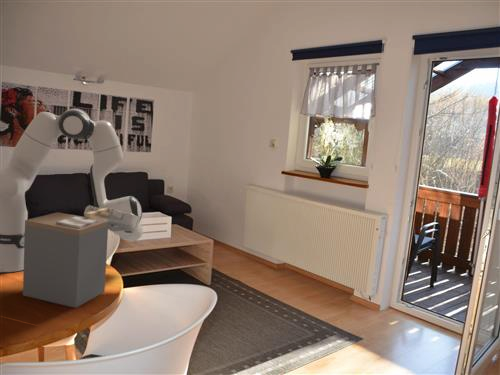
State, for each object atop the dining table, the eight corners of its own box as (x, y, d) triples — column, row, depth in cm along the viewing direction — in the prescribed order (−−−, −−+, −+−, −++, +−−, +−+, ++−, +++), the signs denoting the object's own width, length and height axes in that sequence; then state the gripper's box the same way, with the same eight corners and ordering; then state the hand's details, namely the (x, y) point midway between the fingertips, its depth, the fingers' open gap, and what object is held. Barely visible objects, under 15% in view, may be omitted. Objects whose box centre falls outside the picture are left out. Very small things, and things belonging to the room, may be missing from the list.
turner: (96, 212, 172) (96, 206, 172) (117, 216, 170) (117, 209, 169) (56, 224, 151) (56, 216, 151) (79, 228, 149) (80, 220, 148)
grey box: (22, 295, 156) (24, 220, 152) (55, 280, 171) (57, 212, 167) (76, 307, 150) (79, 230, 146) (104, 291, 165) (108, 221, 162)
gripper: (97, 210, 183) (79, 197, 171) (143, 218, 178) (128, 205, 165) (92, 225, 181) (73, 213, 168) (138, 233, 176) (122, 221, 163)
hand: (101, 209), depth 167 cm, fingers open, 8 cm apart
